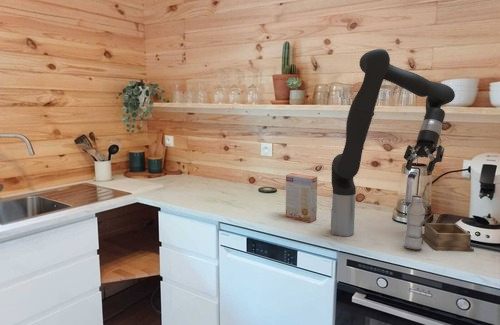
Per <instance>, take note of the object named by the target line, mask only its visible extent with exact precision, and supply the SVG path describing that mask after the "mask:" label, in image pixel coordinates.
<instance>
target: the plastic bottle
mask: <svg viewBox="0 0 500 325" xmlns="http://www.w3.org/2000/svg"><path fill="white" fill-rule="evenodd" d="M410 201H411V202H410V203H409V204H408V205H407V207H406V230H405V235H404V239H403V245H404V246H405V248H408V249H409V250H415V251H416V250H417V251H418V250H420V249H422V248H423V244H424V240H423V238H422V234H423V227H424V226H423V225H424V220H425V216H426V209H425V206H424V205H423V204H422V203H423V196H422V195H414V194H413V195H411V197H410Z"/></svg>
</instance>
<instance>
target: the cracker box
mask: <svg viewBox="0 0 500 325" xmlns="http://www.w3.org/2000/svg"><path fill="white" fill-rule="evenodd" d="M317 206H318V176H316V175H307V174H301V173H288V174H285V218H289V217H290V219H293V218H294V219H293V220H298V221H303V222H307V223H312V222H315V221H317V216H318V215H317V212H318V210H317V209H318V207H317Z"/></svg>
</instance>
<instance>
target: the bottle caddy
mask: <svg viewBox="0 0 500 325" xmlns="http://www.w3.org/2000/svg"><path fill="white" fill-rule="evenodd" d="M423 227H424V229H423V233H422V238H423V242H425V243H426V244H427V245H428V246H429V247H430V248H431V249H432V251H446V252H448V251H450V252H452V251H453V252H470V253H471V252H475V249H474V248H473V247H472V246H471V238H472V234H470V233H469V232H468V231H467V230H465V229H463V227H461V226H460V225H458V224H457V223H441V222H440V223H433V222H425V223H424V226H423Z"/></svg>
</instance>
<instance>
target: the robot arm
mask: <svg viewBox="0 0 500 325" xmlns="http://www.w3.org/2000/svg"><path fill="white" fill-rule="evenodd" d="M390 62H391V58H390V54H389V52H388V51H387V50H386V49H383V48H377V49H373V50H370V51H367V52H365V53H364V54H362V56H361V57H360V59H359V68H360V69H361V71H362V73H364V77H363V81H362V84H361V86H360V88H359V90H358V92H357V93H356V95H355V97H354V98H353V100H352V101H351V104H350V107H349V111H348V115H347V119H346V124H345V125H346V126H345V133H346V134H345V144H344V147H343V150H342V153H339V154H336V156H335V157H334V158H333V160H332V162H331V188H332V198H331V199H332V203H331V205H332V206H331V209H330V212H331V214H330V232H331V235H334V236H335V235H336V236H340V237H350V236H353V235H354V234H355V212H356V196H357V194H356V193H357V192H356V189H357V188H356V185H355V182H354V181H355V180H354V177H356V175H357V174H358V173H359V170H360V167H361V162H362V155H363V150H364V146H365V142H366V140H367V136H368V133H369V130H370V126H371V123H372V121H373V120H372V119H373V117H374V113H375V109H376V104H377V102H378V99H379V95H380V91H381V87H382V85H383V82H384V81H387V82H390V83H391V84H394V85H396V86H398V87H400V88H402V89H404V90H406V91H408V92H410V93H412V94H414V95H416V96H417V97H421V98H426V99H425V113H424V114H425V115H424V118H423V120H422V123H421V126H420V128H419V131H418V135H417V137H416V144H415V145H414V146H412V145H410V144H408V145H407V147H406V149H405V151H404V152H405V153H404V155H403V159H404V160H406V165H405V168H406V170H407V171H408V172H409V171H410V172H411V170H412V168H413V163H414V162H415V160H418V159H419V158H427V159H429V161H428V164H427V165H428V166H427V168H426V171H427V172H428V173H432V172H433V171H434V169H435V166H436V164H437V163H442V161H443V157H444V152H445V148H444V146H442V145H441V144H440V145H438V143H439V141H440V137H441V133H442V129H443V124H444V120H445V117H446V113H445V110H444V109H442V108H441V107H442V106H445V105H448V104H450V103H452V102H453V101H454V99H455V97H456V94H455V91H454V89H453V88H452V87H450V85H448V84H445V83H440V82H437V81H432V80H429V79H428V78H426V77H424V76H422V75H420V74H418V73H415V72H412V71H409V70H406V69H402V68H400V67H397V66H395V65H393V64H391V63H390ZM434 153H436V154H435V155H434Z"/></svg>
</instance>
